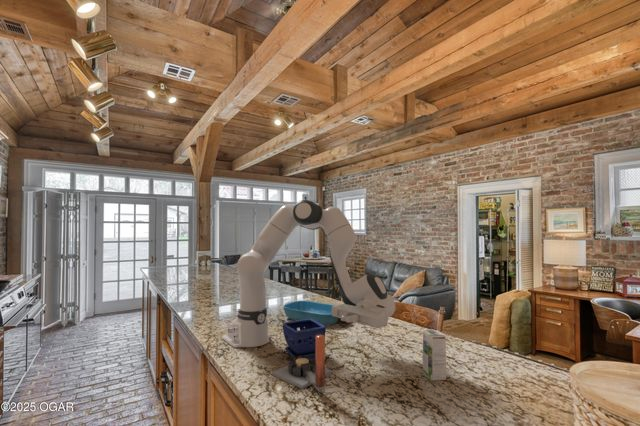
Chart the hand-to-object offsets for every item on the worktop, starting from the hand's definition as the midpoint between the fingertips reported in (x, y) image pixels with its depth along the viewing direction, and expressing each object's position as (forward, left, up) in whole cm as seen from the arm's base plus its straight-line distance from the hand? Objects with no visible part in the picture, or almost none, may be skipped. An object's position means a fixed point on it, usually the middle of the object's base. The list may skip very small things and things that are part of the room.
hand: (344, 319), depth 106 cm
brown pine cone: (-37, +53, -19) cm, 68 cm away
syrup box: (+23, +19, -19) cm, 35 cm away
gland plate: (-11, -9, -19) cm, 23 cm away
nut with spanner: (-6, -11, -17) cm, 21 cm away
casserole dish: (-53, +44, -19) cm, 72 cm away
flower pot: (-22, +3, -19) cm, 29 cm away
